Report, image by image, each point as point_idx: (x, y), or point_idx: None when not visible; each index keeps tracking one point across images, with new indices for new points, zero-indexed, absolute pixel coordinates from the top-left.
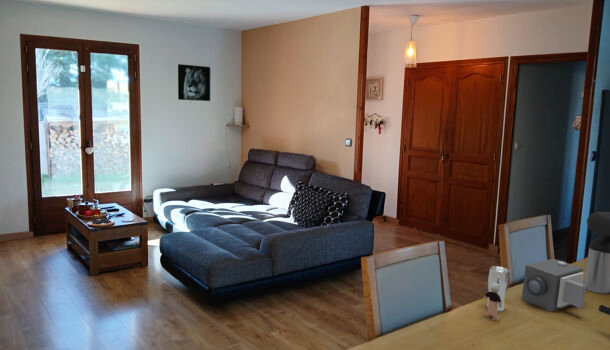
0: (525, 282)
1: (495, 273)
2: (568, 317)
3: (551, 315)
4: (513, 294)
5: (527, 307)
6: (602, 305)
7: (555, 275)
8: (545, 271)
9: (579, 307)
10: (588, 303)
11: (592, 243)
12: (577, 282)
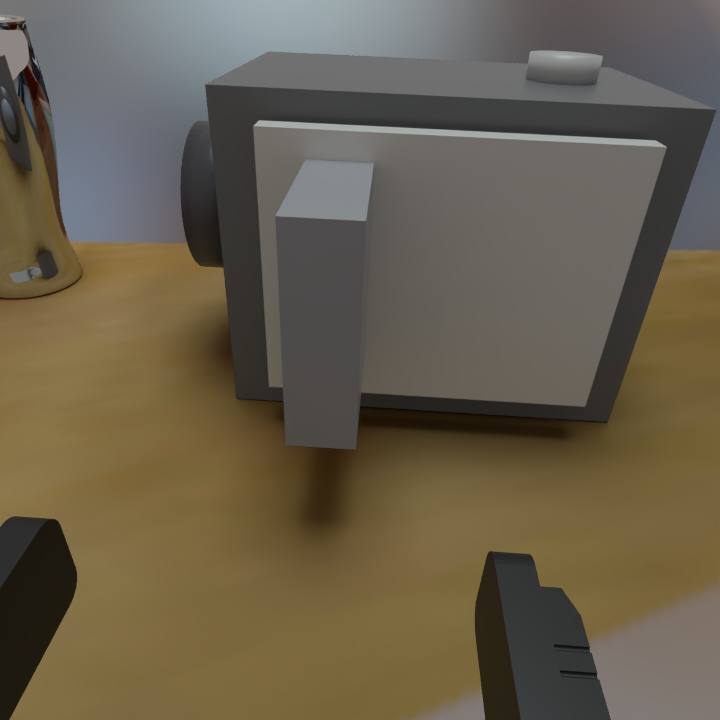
0: None
1: None
2: (237, 482)
3: (166, 417)
4: None
5: (181, 328)
6: (12, 539)
7: (208, 84)
8: (243, 69)
9: (285, 441)
10: (692, 457)
11: None
12: (367, 186)
